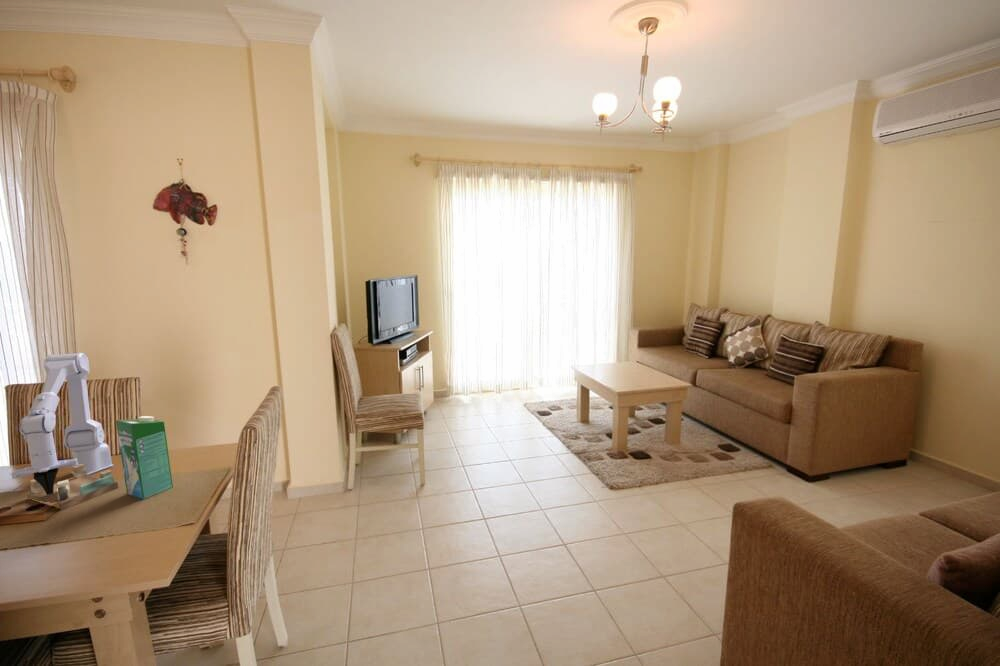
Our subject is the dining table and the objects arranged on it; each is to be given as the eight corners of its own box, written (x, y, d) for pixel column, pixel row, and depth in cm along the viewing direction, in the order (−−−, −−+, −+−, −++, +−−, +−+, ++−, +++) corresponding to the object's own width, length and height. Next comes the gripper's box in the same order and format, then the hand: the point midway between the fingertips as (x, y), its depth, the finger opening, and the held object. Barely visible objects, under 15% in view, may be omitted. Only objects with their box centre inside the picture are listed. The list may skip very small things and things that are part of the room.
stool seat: (84, 478, 160) (81, 462, 159) (118, 487, 153) (115, 470, 152) (28, 499, 147) (24, 481, 146) (61, 509, 139) (58, 491, 138)
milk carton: (173, 486, 153) (163, 414, 149) (142, 499, 145) (131, 423, 141) (157, 482, 156) (147, 411, 153) (126, 494, 148) (115, 420, 145)
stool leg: (69, 498, 142) (67, 486, 141) (58, 501, 140) (56, 489, 140) (69, 487, 149) (67, 476, 149) (59, 490, 148) (57, 479, 147)
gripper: (6, 462, 135) (14, 505, 137) (72, 449, 144) (79, 490, 146) (11, 455, 140) (19, 496, 142) (75, 443, 149) (82, 482, 151)
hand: (50, 493), depth 144 cm, fingers closed
